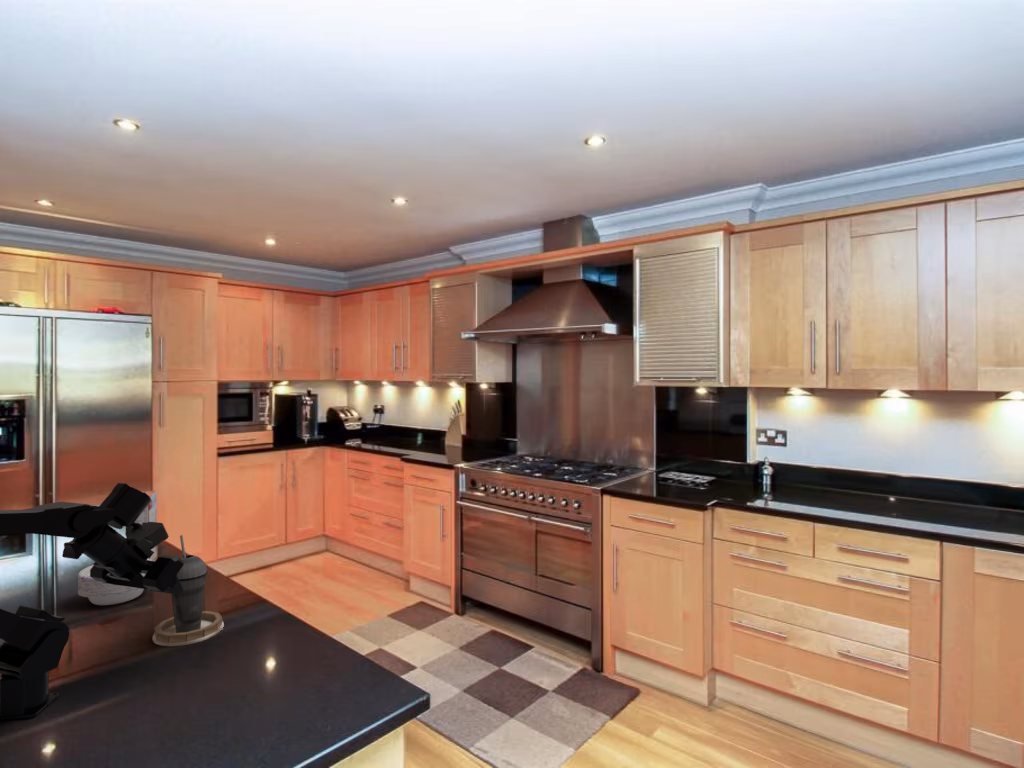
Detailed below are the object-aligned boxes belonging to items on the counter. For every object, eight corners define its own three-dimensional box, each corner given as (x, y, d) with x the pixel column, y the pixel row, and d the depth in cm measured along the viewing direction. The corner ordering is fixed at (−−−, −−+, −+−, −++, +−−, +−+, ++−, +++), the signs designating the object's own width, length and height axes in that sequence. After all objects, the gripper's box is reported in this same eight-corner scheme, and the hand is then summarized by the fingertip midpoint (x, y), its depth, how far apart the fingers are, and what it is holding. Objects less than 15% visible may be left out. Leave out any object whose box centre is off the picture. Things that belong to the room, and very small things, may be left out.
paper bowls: (75, 616, 128) (74, 581, 128) (80, 595, 141) (80, 563, 141) (154, 601, 136) (154, 568, 136) (153, 583, 149) (153, 553, 149)
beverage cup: (203, 635, 116) (202, 537, 116) (163, 639, 114) (162, 540, 115) (211, 621, 123) (211, 529, 123) (174, 625, 121) (173, 531, 122)
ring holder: (211, 643, 114) (211, 633, 114) (140, 648, 112) (140, 638, 112) (232, 617, 127) (232, 608, 127) (168, 621, 124) (168, 612, 124)
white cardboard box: (134, 562, 167) (134, 491, 167) (158, 559, 169) (157, 489, 170) (124, 576, 154) (124, 500, 154) (150, 573, 157) (150, 498, 157)
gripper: (175, 515, 106) (223, 557, 116) (106, 508, 112) (157, 549, 122) (133, 569, 98) (189, 610, 108) (62, 559, 105) (121, 598, 115)
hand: (164, 589), depth 114 cm, fingers open, 9 cm apart
